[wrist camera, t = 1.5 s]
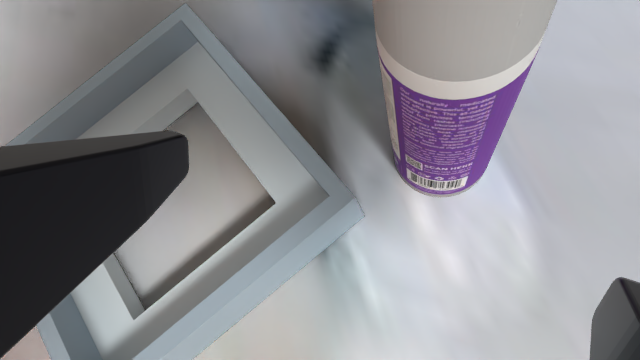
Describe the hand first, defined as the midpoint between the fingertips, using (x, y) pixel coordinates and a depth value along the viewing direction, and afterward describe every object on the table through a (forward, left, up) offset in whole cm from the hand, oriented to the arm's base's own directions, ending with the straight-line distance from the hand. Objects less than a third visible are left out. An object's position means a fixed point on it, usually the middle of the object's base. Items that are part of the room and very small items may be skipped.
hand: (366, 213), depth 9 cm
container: (+6, +3, -13) cm, 15 cm away
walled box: (-7, +11, -13) cm, 18 cm away
